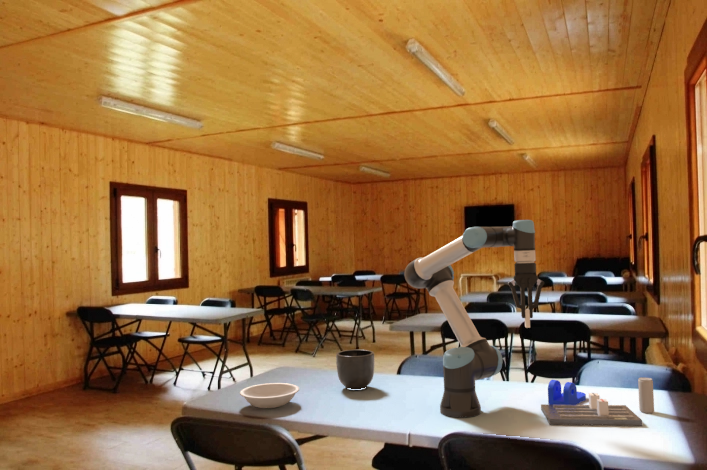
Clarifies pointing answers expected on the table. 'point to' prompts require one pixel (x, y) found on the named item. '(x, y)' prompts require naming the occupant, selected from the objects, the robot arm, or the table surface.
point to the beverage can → (646, 395)
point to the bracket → (564, 394)
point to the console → (590, 415)
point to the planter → (355, 368)
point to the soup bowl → (269, 394)
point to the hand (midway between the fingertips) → (527, 327)
